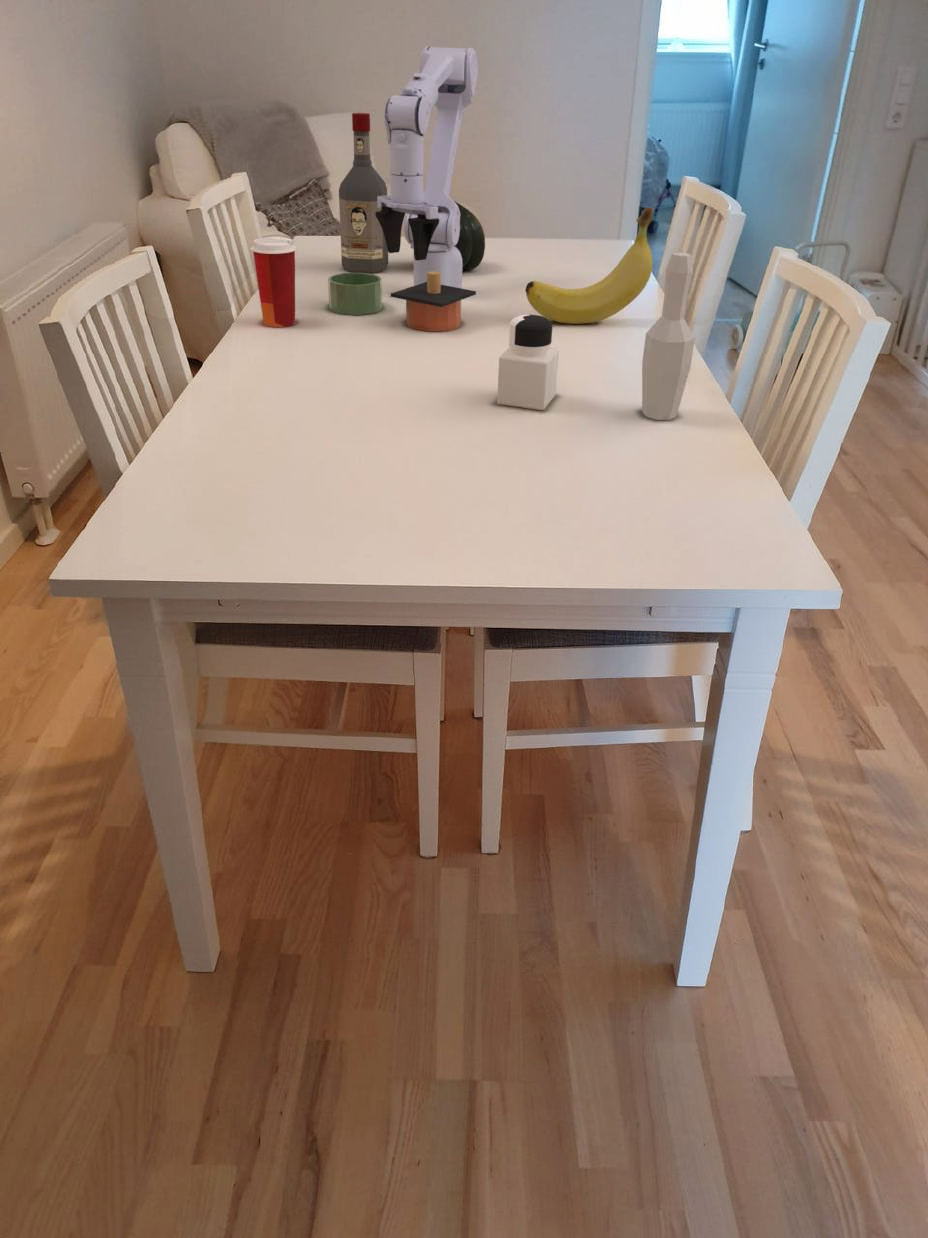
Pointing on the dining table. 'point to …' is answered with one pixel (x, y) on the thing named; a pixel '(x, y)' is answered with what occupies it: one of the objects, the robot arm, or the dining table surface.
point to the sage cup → (355, 293)
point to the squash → (470, 239)
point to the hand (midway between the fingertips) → (407, 255)
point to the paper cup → (276, 279)
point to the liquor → (362, 207)
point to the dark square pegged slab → (433, 292)
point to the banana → (598, 287)
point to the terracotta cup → (433, 316)
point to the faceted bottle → (668, 345)
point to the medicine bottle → (528, 364)
